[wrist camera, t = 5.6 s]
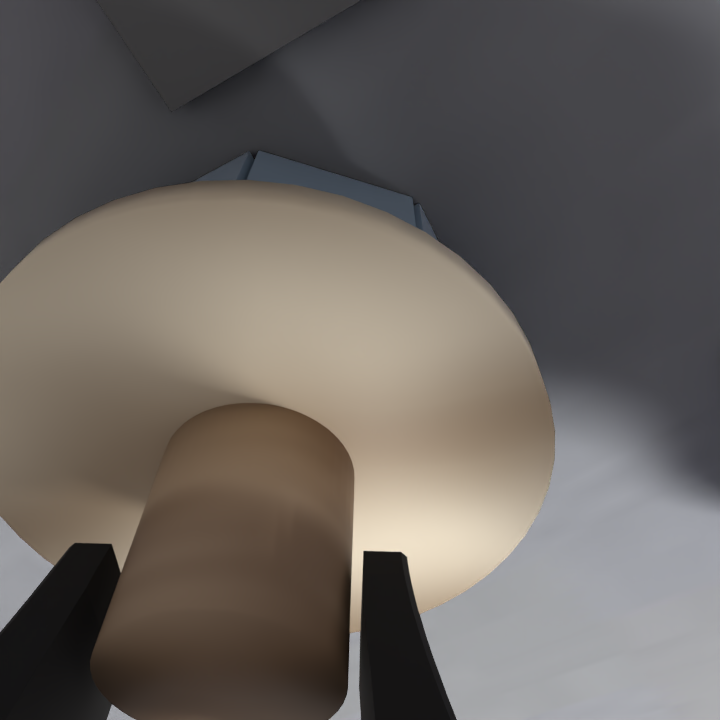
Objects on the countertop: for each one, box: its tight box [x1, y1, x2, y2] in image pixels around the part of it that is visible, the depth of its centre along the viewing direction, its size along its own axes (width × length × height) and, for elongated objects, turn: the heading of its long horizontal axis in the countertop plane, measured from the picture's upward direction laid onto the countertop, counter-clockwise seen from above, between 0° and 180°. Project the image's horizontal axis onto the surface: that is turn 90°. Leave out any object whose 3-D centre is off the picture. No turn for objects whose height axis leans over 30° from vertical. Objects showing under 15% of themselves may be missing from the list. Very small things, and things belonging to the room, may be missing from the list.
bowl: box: [193, 150, 438, 241], centre depth 15 cm, size 9×9×4 cm
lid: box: [0, 180, 555, 720], centre depth 11 cm, size 11×11×5 cm
